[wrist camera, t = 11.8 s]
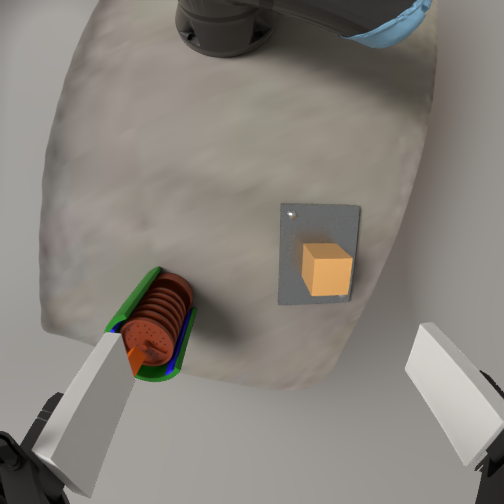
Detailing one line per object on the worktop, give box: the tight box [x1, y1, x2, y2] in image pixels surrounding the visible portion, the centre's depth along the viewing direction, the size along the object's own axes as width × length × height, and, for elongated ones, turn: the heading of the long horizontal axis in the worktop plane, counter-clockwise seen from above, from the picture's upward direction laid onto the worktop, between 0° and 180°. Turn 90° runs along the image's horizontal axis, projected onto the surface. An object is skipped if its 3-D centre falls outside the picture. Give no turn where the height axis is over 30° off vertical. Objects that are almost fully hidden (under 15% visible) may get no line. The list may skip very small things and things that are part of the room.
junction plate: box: [278, 203, 360, 305], centre depth 41 cm, size 16×12×6 cm
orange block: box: [302, 243, 353, 296], centre depth 39 cm, size 5×5×7 cm
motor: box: [104, 266, 197, 382], centre depth 35 cm, size 10×9×20 cm
